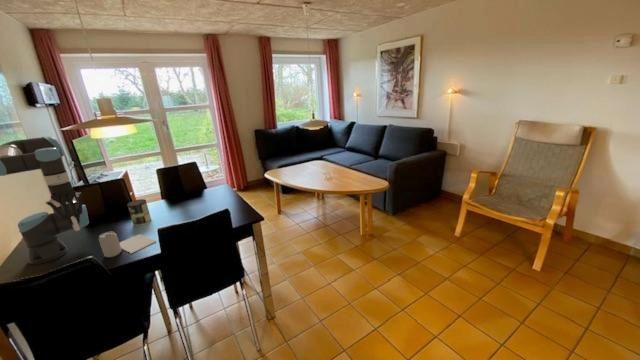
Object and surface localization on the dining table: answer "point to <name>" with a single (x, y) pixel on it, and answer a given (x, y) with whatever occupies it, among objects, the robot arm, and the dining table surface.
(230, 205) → the dining table surface
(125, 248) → the mat
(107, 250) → the can
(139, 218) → the coffee can
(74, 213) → the robot arm
